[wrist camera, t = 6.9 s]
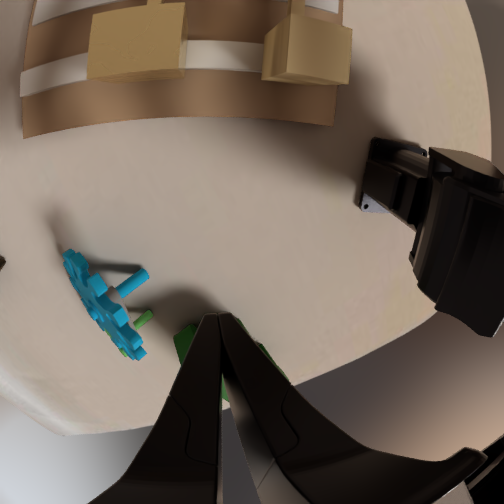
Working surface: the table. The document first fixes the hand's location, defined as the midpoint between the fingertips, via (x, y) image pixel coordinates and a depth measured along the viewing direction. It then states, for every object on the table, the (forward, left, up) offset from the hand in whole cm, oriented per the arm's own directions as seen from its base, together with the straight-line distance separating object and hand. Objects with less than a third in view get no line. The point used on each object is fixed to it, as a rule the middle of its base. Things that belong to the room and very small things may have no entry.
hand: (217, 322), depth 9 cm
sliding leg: (+3, -12, -11) cm, 17 cm away
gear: (+8, +8, -13) cm, 18 cm away
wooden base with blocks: (+2, -12, -13) cm, 18 cm away
